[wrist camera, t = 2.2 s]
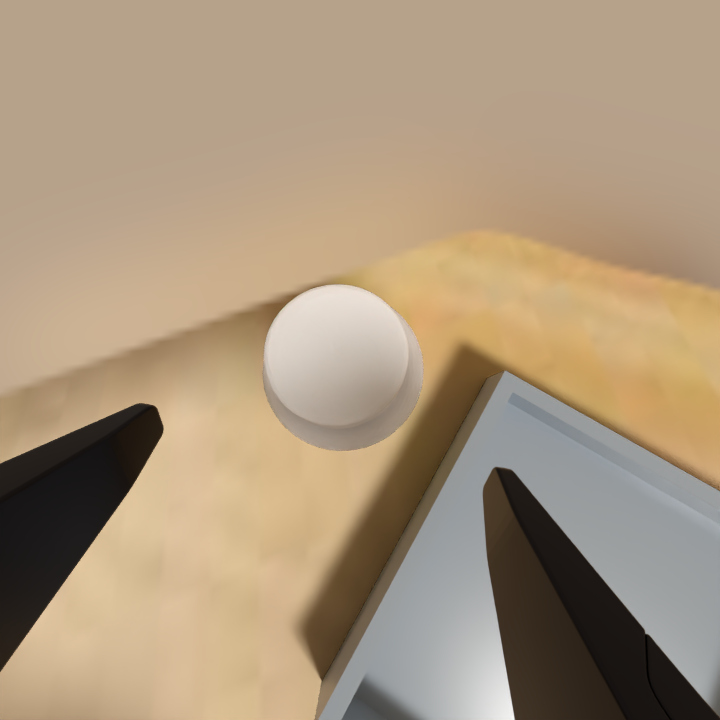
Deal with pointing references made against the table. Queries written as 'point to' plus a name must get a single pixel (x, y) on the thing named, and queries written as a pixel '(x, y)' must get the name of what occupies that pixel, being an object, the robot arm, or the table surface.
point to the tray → (471, 573)
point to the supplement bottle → (341, 368)
